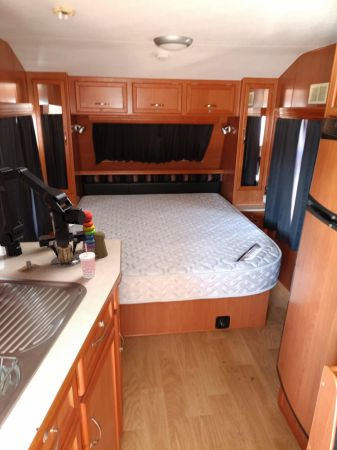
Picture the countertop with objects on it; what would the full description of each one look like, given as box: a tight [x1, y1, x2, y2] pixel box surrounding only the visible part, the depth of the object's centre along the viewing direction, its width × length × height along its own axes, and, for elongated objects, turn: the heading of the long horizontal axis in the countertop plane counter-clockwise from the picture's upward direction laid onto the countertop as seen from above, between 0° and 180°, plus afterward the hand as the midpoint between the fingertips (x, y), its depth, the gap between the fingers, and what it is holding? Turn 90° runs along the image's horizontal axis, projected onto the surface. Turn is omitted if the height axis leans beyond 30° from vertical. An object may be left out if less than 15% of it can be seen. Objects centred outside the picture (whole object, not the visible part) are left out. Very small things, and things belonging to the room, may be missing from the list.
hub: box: [50, 253, 81, 269], centre depth 140 cm, size 13×13×6 cm
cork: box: [93, 231, 109, 259], centre depth 144 cm, size 6×6×11 cm
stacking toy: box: [82, 210, 97, 253], centre depth 149 cm, size 8×8×19 cm
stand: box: [16, 260, 42, 275], centre depth 134 cm, size 7×7×4 cm
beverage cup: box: [78, 243, 96, 279], centre depth 127 cm, size 6×6×14 cm
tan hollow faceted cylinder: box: [56, 243, 74, 263], centre depth 139 cm, size 6×6×6 cm
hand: (66, 256), depth 140 cm, fingers closed on tan hollow faceted cylinder, 6 cm apart
